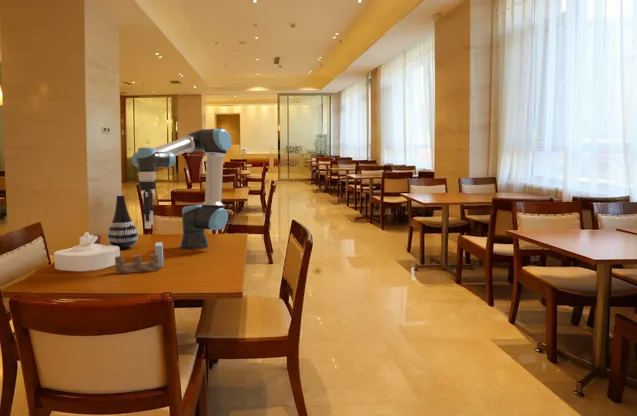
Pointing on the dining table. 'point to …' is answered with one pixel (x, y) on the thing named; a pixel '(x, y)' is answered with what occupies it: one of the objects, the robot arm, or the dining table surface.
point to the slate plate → (159, 252)
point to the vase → (122, 227)
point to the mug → (97, 238)
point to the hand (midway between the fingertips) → (149, 226)
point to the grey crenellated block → (137, 264)
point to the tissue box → (86, 255)
